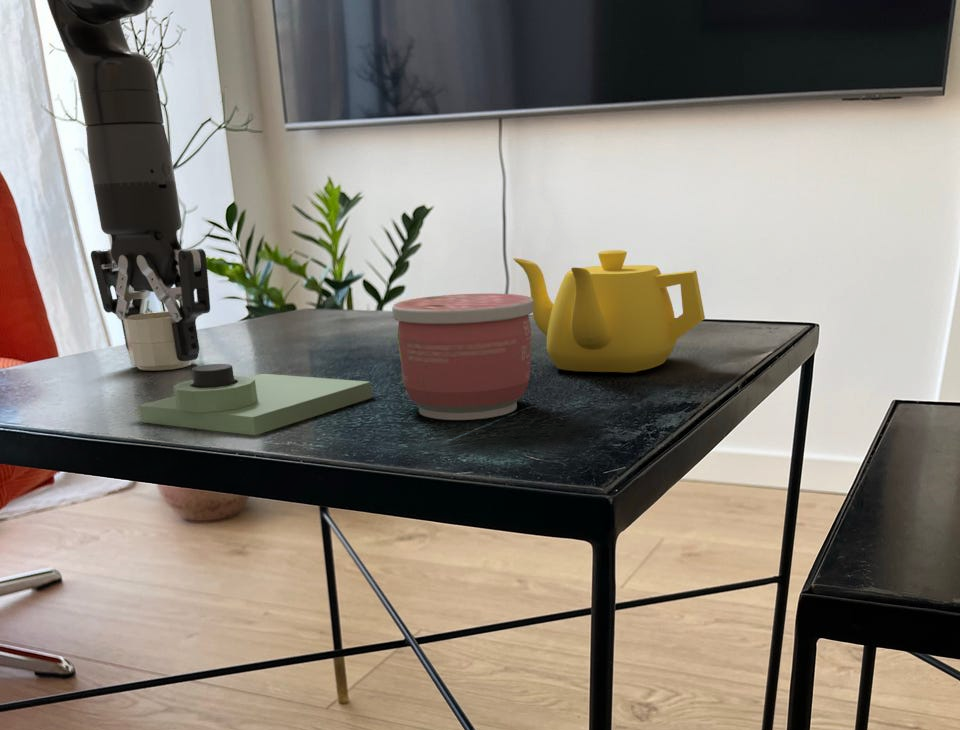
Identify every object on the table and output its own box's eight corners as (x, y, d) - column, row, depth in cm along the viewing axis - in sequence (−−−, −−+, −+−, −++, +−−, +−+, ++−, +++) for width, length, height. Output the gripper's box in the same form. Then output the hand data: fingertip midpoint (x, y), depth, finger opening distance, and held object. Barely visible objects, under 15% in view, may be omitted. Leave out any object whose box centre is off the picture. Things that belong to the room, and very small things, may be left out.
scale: (251, 437, 73) (245, 395, 72) (137, 424, 79) (129, 385, 78) (372, 398, 84) (369, 361, 83) (264, 389, 90) (259, 354, 89)
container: (457, 391, 85) (452, 291, 82) (562, 403, 79) (561, 295, 76) (371, 416, 78) (362, 307, 74) (480, 431, 72) (475, 313, 68)
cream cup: (162, 373, 100) (154, 320, 98) (119, 369, 103) (109, 318, 101) (210, 362, 105) (202, 312, 103) (166, 359, 108) (158, 310, 106)
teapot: (514, 363, 97) (511, 252, 93) (640, 349, 101) (642, 242, 96) (575, 386, 85) (574, 260, 81) (714, 369, 89) (720, 249, 85)
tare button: (215, 393, 75) (211, 371, 74) (186, 390, 77) (182, 369, 76) (243, 385, 77) (240, 364, 77) (215, 383, 79) (212, 362, 78)
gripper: (52, 182, 97) (87, 360, 104) (156, 177, 90) (186, 368, 97) (114, 180, 103) (144, 349, 110) (217, 175, 96) (241, 355, 103)
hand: (164, 357), depth 103 cm, fingers closed on cream cup, 6 cm apart
